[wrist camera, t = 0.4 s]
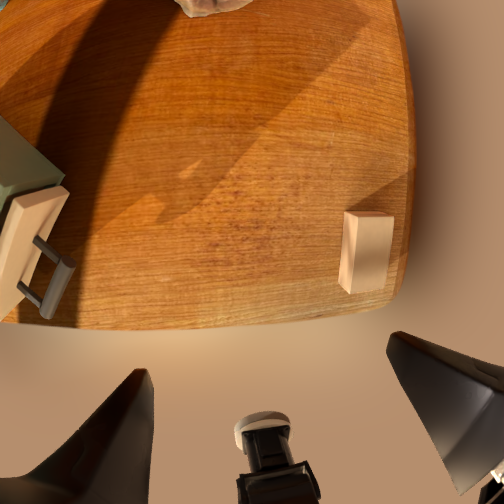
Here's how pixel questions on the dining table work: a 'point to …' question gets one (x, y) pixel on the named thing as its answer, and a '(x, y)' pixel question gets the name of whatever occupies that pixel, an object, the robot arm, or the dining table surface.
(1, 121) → the cabinet
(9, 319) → the dining table surface
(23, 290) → the drawer
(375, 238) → the beige rectangular block
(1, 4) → the teapot
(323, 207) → the dining table surface
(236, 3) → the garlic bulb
